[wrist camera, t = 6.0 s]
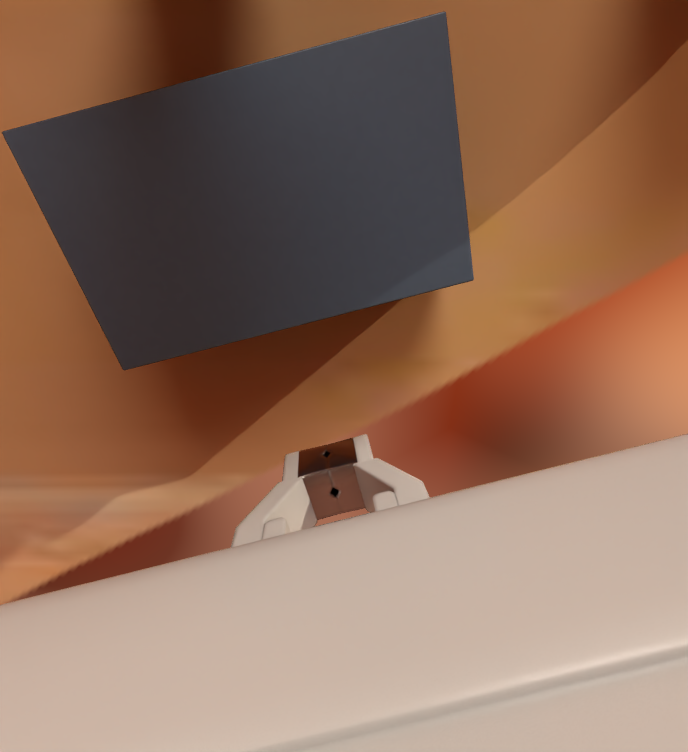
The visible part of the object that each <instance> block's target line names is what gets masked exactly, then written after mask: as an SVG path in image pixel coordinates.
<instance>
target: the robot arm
mask: <svg viewBox="0 0 688 752" xmlns="http://www.w3.org/2000/svg"><path fill="white" fill-rule="evenodd" d="M363 508H366V510H367V511H369V512H370V513H367V514H363V515H359V516H355V517H351V518H347V519H344V520H339V521H335V522H331V523H327V524H323V525H319V526H315V525H316V523H317V520H319V519H323V518H326V517H330V516H333V515H337V514H341V513H345V512H349V511H354V510H359V509H363ZM314 526H315V527H314ZM0 752H688V434H684V435H680V436H676V437H673V438H668V439H665V440H660V441H656V442H652V443H648V444H644V445H640V446H636V447H632V448H628V449H624V450H620V451H616V452H612V453H608V454H604V455H600V456H596V457H592V458H588V459H584V460H580V461H576V462H572V463H568V464H564V465H560V466H556V467H552V468H548V469H544V470H540V471H536V472H532V473H528V474H524V475H520V476H516V477H512V478H508V479H504V480H499V481H496V482H492V483H488V484H484V485H480V486H476V487H471V488H467V489H463V490H460V491H456V492H452V493H447V494H444V495H439V496H436V497H432V498H430V497H429V495H428V493H427V491H426V488H425V486H424V484H423V482H422V481H421V480H419V479H417V478H415V477H413V476H411V475H409V474H407V473H405V472H403V471H402V470H399V469H398V468H396V467H394V466H392V465H390V464H388V463H386V462H384V461H382V460H380V459H379V458H374V459H373V455H372V451H371V448H370V444H369V440H368V436H367V434H364V435H360V436H357V437H354V438H350V439H346V440H343V441H339V442H336V443H332V444H328V445H323V446H319V447H314V448H310V449H306V450H301V451H297V452H293V453H289V454H286V455H285V459H284V468H283V477H282V482H279V483H278V484H277V485H276V486H275V487H274V488H273V489H272V490H271V491H270V492H269V493H268V494H267V495H266V496H265V497H264V498H263V499H262V500H261V501H260V503H259V504H258V505H257V506H256V507H255V508H254V509H253V510H252V511H251V512H250V513H249V514H248V516H246V517H245V519H244V520H243V521H242V522H241V523H240V524H239V525H238V526H237V527H236V529H235V533H234V537H233V541H232V545H231V548H227V549H223V550H219V551H215V552H211V553H207V554H203V555H199V556H195V557H191V558H187V559H183V560H179V561H175V562H171V563H167V564H163V565H159V566H155V567H151V568H147V569H143V570H139V571H135V572H131V573H127V574H123V575H119V576H115V577H111V578H107V579H103V580H99V581H95V582H91V583H86V584H82V585H79V586H74V587H70V588H66V589H62V590H58V591H54V592H50V593H46V594H42V595H39V596H34V597H30V598H26V599H22V600H18V601H14V602H10V603H6V604H2V605H0Z"/></svg>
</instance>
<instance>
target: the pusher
mask: <svg viewBox="0 0 688 752" xmlns="http://www.w3.org/2000/svg"><path fill="white" fill-rule="evenodd" d="M2 134H3V136H4V138H5V140H6V142H7V144H8V146H9V148H10V150H11V152H12V154H13V155H14V157H15V159H16V161H17V163H18V165H19V167H20V169H21V171H22V173H23V175H24V177H25V179H26V181H27V183H28V185H29V187H30V189H31V191H32V193H33V195H34V197H35V199H36V201H37V202H38V204H39V206H40V208H41V210H42V212H43V214H44V216H45V218H46V220H47V222H48V224H49V226H50V228H51V230H52V232H53V234H54V236H55V238H56V240H57V242H58V244H59V246H60V247H61V249H62V251H63V253H64V255H65V257H66V259H67V261H68V263H69V265H70V267H71V269H72V271H73V273H74V275H75V277H76V279H77V281H78V283H79V285H80V287H81V289H82V291H83V293H84V294H85V296H86V298H87V300H88V302H89V304H90V306H91V308H92V310H93V312H94V314H95V316H96V318H97V320H98V322H99V324H100V326H101V328H102V330H103V332H104V334H105V336H106V338H107V340H108V341H109V343H110V345H111V347H112V349H113V351H114V353H115V355H116V357H117V359H118V361H119V363H120V365H121V367H122V369H123V370H128V369H132V368H136V367H139V366H143V365H147V364H151V363H155V362H159V361H163V360H167V359H170V358H174V357H178V356H182V355H186V354H190V353H194V352H198V351H201V350H205V349H209V348H213V347H217V346H221V345H225V344H229V343H232V342H236V341H240V340H244V339H248V338H252V337H256V336H260V335H263V334H267V333H271V332H275V331H279V330H283V329H287V328H291V327H295V326H298V325H302V324H306V323H310V322H314V321H318V320H322V319H326V318H329V317H333V316H337V315H341V314H345V313H349V312H353V311H357V310H360V309H364V308H368V307H372V306H376V305H380V304H384V303H388V302H391V301H395V300H399V299H403V298H407V297H411V296H415V295H419V294H422V293H426V292H430V291H434V290H438V289H442V288H446V287H450V286H453V285H457V284H461V283H465V282H469V281H473V280H474V277H473V268H472V258H471V248H470V239H469V229H468V220H467V210H466V200H465V191H464V181H463V172H462V162H461V152H460V143H459V133H458V124H457V114H456V104H455V95H454V85H453V76H452V66H451V57H450V47H449V37H448V28H447V18H446V12H440V13H437V14H433V15H429V16H426V17H422V18H418V19H415V20H411V21H407V22H404V23H400V24H396V25H393V26H389V27H385V28H382V29H378V30H374V31H371V32H367V33H363V34H360V35H356V36H352V37H349V38H345V39H341V40H338V41H334V42H330V43H326V44H323V45H319V46H315V47H312V48H308V49H304V50H301V51H297V52H293V53H290V54H286V55H282V56H279V57H275V58H271V59H268V60H264V61H260V62H257V63H253V64H249V65H246V66H242V67H238V68H235V69H231V70H227V71H224V72H220V73H216V74H213V75H209V76H205V77H202V78H198V79H194V80H190V81H187V82H183V83H179V84H176V85H172V86H168V87H165V88H161V89H157V90H154V91H150V92H146V93H143V94H139V95H135V96H132V97H128V98H124V99H121V100H117V101H113V102H110V103H106V104H102V105H99V106H95V107H91V108H88V109H84V110H80V111H77V112H73V113H69V114H65V115H62V116H58V117H54V118H51V119H47V120H43V121H40V122H36V123H32V124H29V125H25V126H21V127H18V128H14V129H10V130H7V131H3V132H2Z"/></svg>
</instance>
